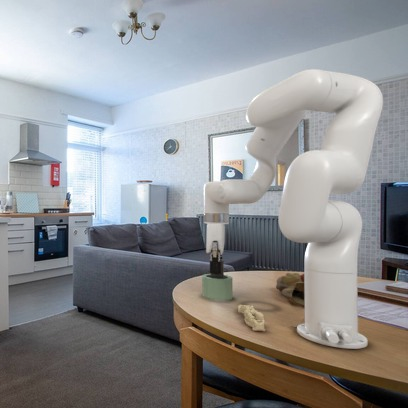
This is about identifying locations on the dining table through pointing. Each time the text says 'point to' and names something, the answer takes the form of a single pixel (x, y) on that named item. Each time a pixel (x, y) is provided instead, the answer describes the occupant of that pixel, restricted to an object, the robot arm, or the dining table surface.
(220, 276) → the peg
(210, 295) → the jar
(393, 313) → the dining table surface
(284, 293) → the figurine
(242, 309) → the beige lumpy bar
